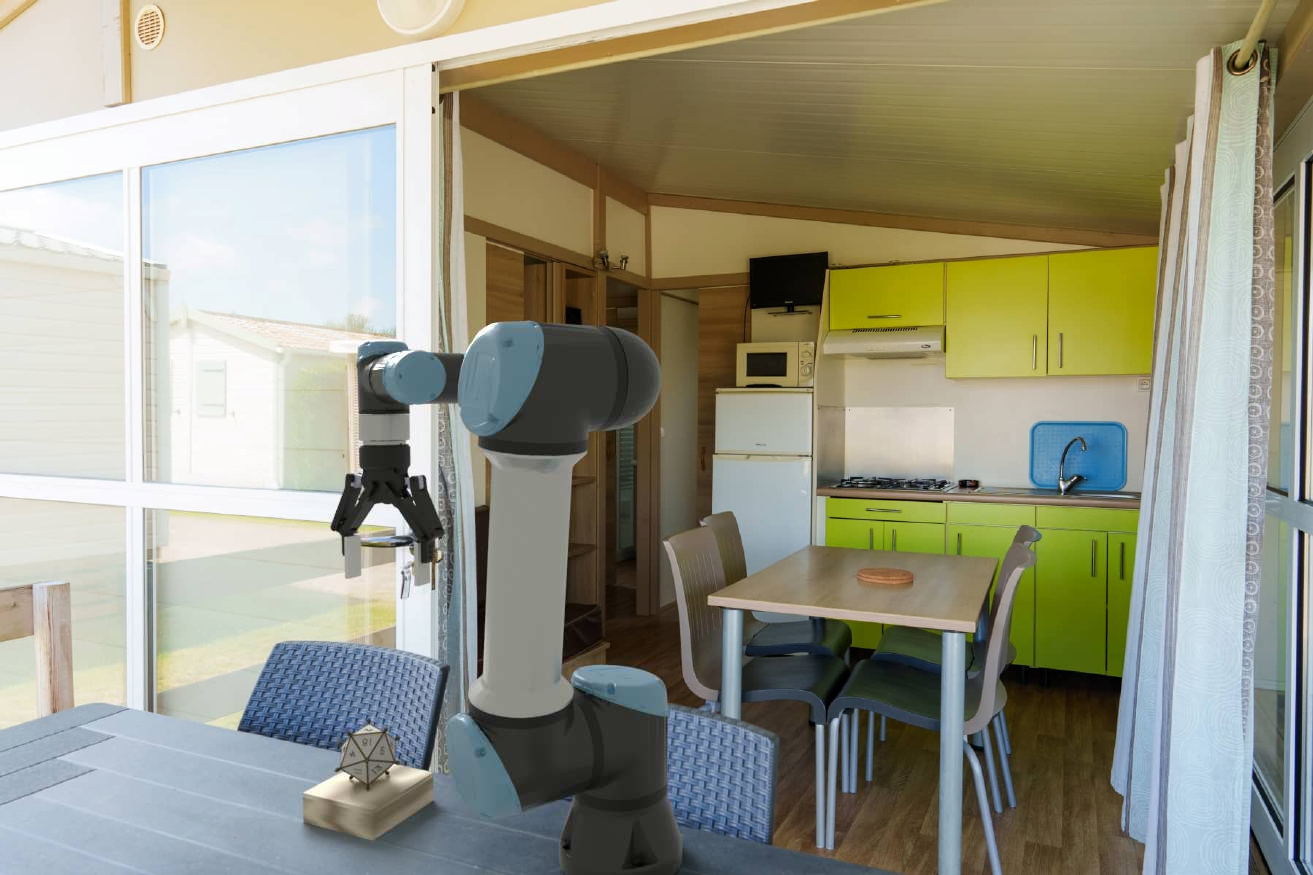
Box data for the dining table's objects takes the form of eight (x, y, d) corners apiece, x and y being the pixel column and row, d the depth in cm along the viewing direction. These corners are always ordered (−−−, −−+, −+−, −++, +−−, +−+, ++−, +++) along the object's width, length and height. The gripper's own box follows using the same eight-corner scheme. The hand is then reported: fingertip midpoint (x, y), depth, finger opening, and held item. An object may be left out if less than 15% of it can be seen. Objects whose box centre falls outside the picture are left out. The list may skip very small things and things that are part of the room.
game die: (359, 815, 115) (314, 771, 110) (362, 768, 122) (320, 726, 118) (417, 781, 115) (375, 736, 110) (417, 737, 123) (376, 693, 118)
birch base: (433, 800, 120) (433, 772, 119) (372, 840, 109) (372, 809, 109) (367, 784, 125) (367, 758, 124) (303, 821, 114) (302, 792, 113)
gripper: (466, 443, 128) (468, 582, 129) (341, 440, 138) (343, 569, 139) (434, 445, 121) (436, 592, 122) (304, 442, 131) (307, 578, 132)
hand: (387, 580), depth 131 cm, fingers open, 13 cm apart
